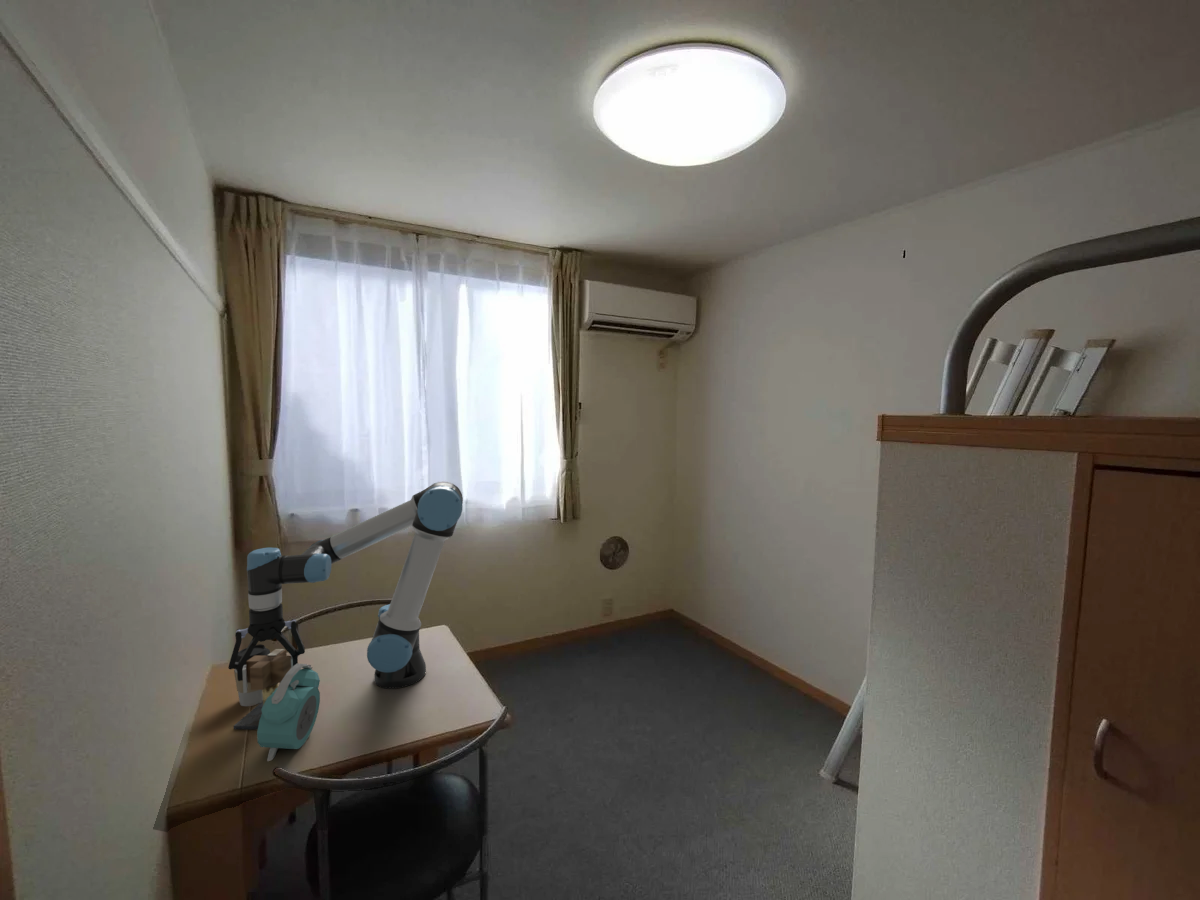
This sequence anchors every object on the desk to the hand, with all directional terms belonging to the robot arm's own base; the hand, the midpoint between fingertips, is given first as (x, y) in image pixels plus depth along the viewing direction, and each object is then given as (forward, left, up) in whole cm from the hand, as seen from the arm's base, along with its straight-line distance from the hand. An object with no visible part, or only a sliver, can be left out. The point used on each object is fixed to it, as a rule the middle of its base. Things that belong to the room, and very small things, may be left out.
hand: (269, 685), depth 136 cm
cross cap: (0, 0, +1) cm, 1 cm away
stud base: (0, 0, -9) cm, 9 cm away
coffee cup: (+10, -7, -9) cm, 15 cm away
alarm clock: (-13, +12, -9) cm, 20 cm away
